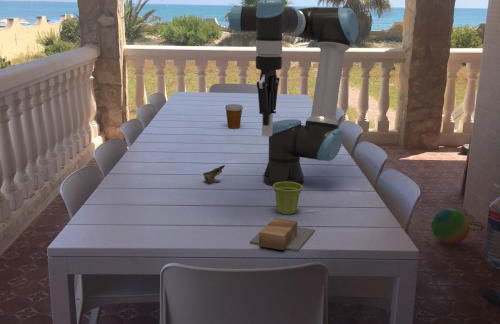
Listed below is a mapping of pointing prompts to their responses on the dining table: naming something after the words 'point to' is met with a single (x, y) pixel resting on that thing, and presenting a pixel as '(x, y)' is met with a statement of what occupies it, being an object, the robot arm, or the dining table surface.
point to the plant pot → (287, 196)
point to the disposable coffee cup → (233, 115)
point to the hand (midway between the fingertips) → (267, 135)
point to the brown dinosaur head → (213, 174)
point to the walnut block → (278, 234)
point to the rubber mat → (297, 242)
